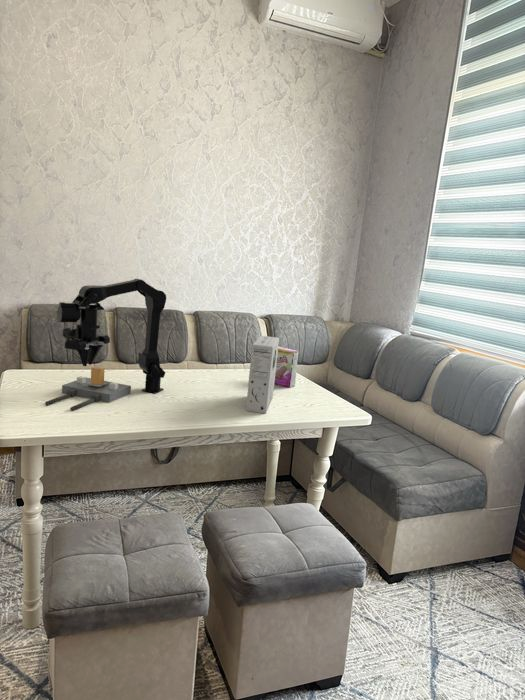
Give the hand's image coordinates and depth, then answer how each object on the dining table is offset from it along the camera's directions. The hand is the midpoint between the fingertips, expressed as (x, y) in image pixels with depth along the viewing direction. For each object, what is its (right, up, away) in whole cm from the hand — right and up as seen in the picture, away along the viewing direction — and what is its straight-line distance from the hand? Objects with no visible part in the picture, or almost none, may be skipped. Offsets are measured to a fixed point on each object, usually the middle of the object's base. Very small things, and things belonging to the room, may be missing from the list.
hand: (87, 365), depth 181 cm
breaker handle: (+1, -7, +8) cm, 11 cm away
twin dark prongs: (-3, -13, -5) cm, 14 cm away
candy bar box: (+71, -10, +47) cm, 86 cm away
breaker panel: (+1, -11, +8) cm, 14 cm away
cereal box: (+62, -16, +15) cm, 65 cm away
